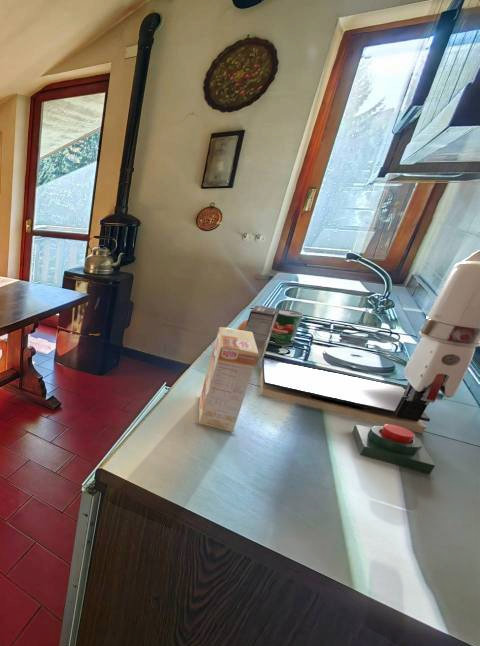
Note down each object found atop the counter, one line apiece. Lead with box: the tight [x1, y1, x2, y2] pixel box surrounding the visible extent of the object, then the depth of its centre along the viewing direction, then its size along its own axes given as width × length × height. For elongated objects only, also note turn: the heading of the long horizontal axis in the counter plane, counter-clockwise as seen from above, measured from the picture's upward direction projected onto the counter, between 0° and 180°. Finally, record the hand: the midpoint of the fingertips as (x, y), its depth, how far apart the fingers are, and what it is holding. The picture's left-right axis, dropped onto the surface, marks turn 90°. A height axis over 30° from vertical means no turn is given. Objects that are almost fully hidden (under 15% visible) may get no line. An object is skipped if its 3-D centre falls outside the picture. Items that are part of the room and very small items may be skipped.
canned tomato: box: [268, 308, 304, 347], centre depth 135 cm, size 8×8×11 cm
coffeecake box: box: [198, 326, 259, 433], centre depth 90 cm, size 15×7×20 cm, turn 150°
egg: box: [236, 319, 248, 331], centre depth 133 cm, size 7×7×9 cm
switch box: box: [351, 423, 436, 475], centre depth 80 cm, size 10×10×4 cm
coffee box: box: [245, 305, 281, 365], centre depth 122 cm, size 9×6×16 cm
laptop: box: [259, 361, 427, 434], centre depth 102 cm, size 21×30×2 cm
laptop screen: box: [262, 358, 431, 422], centre depth 102 cm, size 21×30×1 cm
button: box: [381, 424, 416, 443], centre depth 79 cm, size 4×4×2 cm
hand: (405, 417), depth 78 cm, fingers closed
